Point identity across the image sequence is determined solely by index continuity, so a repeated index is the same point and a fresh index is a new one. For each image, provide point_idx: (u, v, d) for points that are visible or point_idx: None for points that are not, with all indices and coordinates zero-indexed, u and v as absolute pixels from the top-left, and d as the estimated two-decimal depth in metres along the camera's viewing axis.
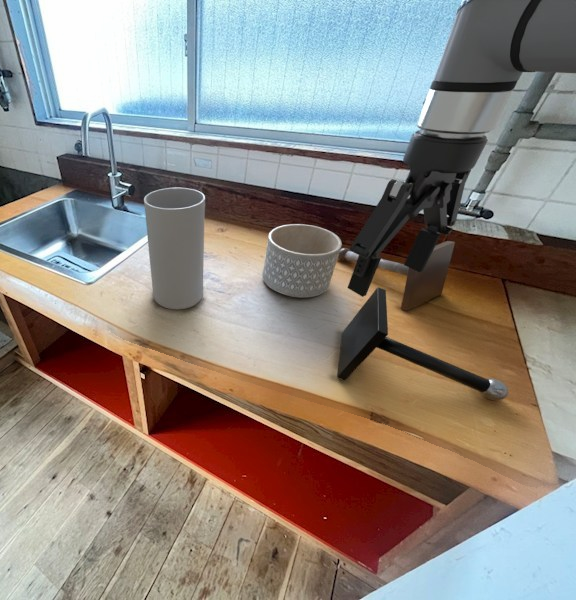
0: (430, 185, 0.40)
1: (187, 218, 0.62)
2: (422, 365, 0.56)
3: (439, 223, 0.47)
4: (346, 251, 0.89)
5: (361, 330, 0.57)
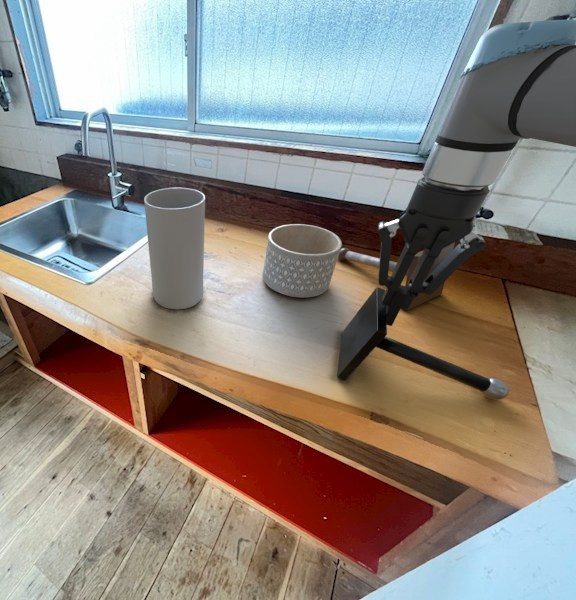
0: (416, 227, 0.45)
1: (187, 218, 0.62)
2: (422, 364, 0.56)
3: (415, 278, 0.48)
4: (346, 251, 0.89)
5: (360, 330, 0.57)
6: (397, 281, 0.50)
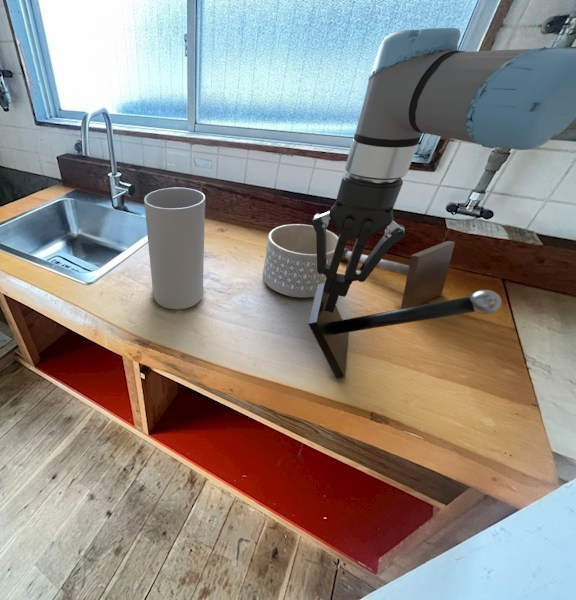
0: (344, 217, 0.48)
1: (187, 218, 0.62)
2: (397, 322, 0.53)
3: (348, 266, 0.52)
4: (346, 251, 0.89)
5: None
6: (333, 269, 0.53)
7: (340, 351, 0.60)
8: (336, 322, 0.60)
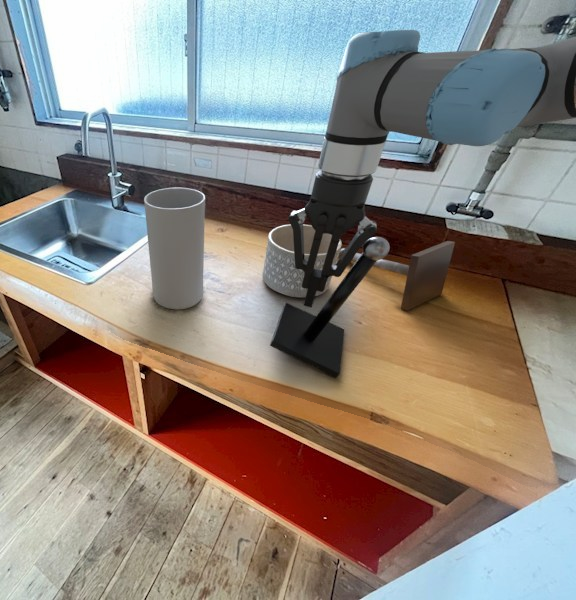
0: (318, 214, 0.49)
1: (187, 218, 0.62)
2: (338, 303, 0.56)
3: (324, 261, 0.53)
4: None
5: None
6: (310, 265, 0.54)
7: (326, 351, 0.61)
8: (306, 329, 0.63)
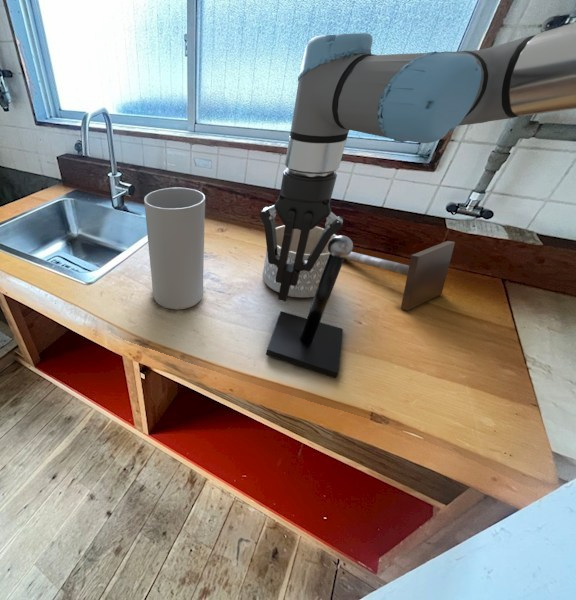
0: (287, 210, 0.51)
1: (187, 218, 0.62)
2: (322, 304, 0.58)
3: None
4: None
5: None
6: (282, 260, 0.56)
7: (323, 353, 0.62)
8: (301, 334, 0.65)
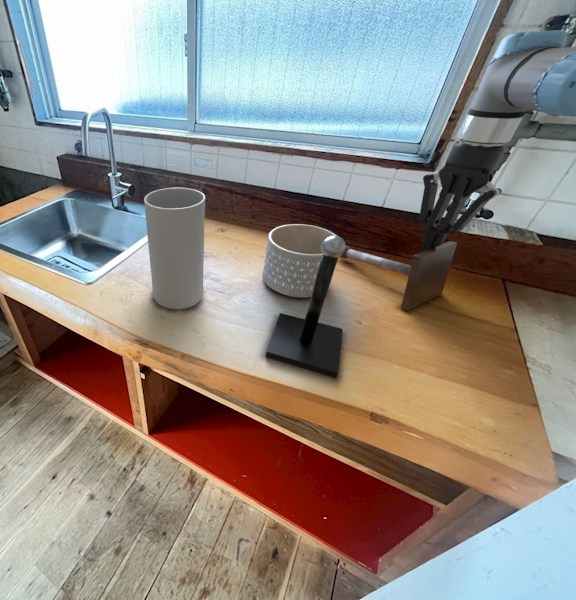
0: (448, 175, 0.63)
1: (187, 218, 0.62)
2: (318, 304, 0.58)
3: (444, 218, 0.66)
4: (347, 249, 0.89)
5: None
6: (431, 220, 0.68)
7: (323, 353, 0.62)
8: (300, 335, 0.65)
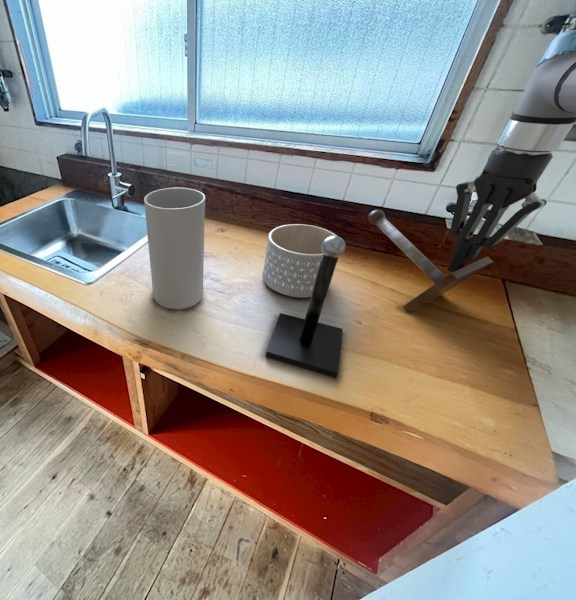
0: (486, 185, 0.58)
1: (187, 218, 0.62)
2: (318, 304, 0.58)
3: (479, 230, 0.61)
4: (381, 217, 0.78)
5: None
6: (464, 232, 0.63)
7: (323, 353, 0.62)
8: (300, 335, 0.65)
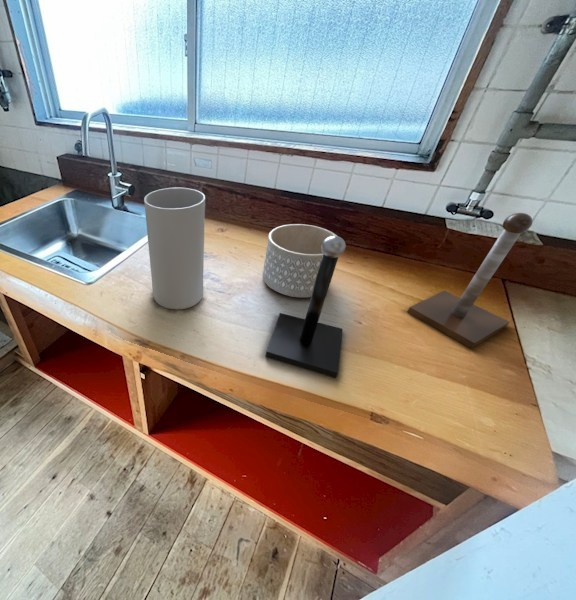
0: None
1: (187, 218, 0.62)
2: (318, 304, 0.58)
3: None
4: (520, 232, 0.56)
5: None
6: None
7: (323, 353, 0.62)
8: (300, 335, 0.65)
